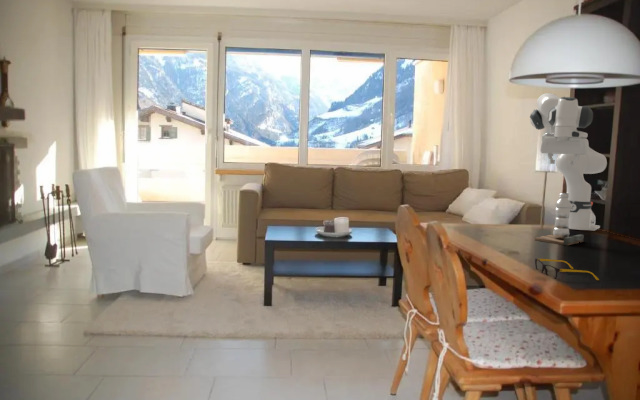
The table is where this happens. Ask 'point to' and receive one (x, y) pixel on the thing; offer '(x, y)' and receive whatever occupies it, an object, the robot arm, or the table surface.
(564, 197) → the plastic bottle
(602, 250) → the table surface
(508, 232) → the table surface
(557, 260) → the eyeglasses
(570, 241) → the walnut board
